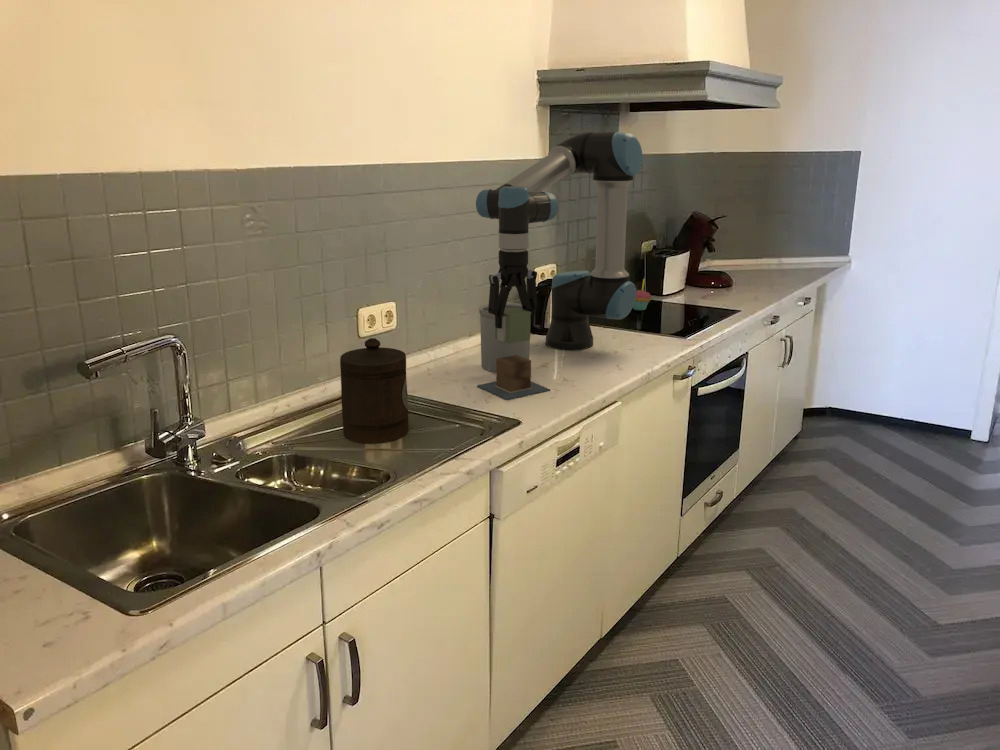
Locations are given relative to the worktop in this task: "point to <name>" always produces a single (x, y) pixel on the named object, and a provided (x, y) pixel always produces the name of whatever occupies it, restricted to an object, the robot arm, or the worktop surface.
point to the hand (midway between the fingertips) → (512, 338)
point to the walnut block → (513, 373)
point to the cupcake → (641, 299)
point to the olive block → (516, 325)
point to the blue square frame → (508, 395)
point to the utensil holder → (497, 341)
